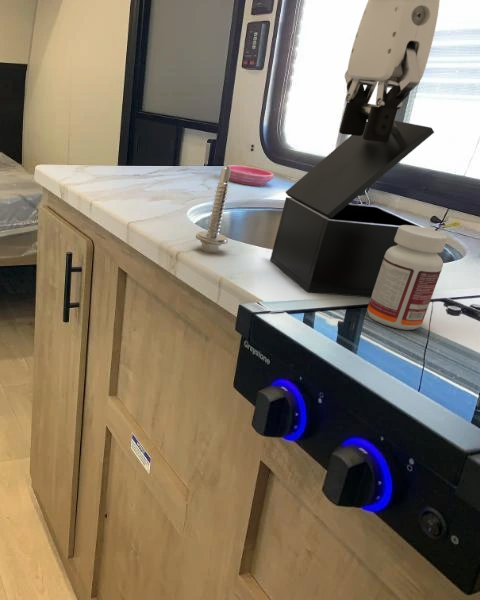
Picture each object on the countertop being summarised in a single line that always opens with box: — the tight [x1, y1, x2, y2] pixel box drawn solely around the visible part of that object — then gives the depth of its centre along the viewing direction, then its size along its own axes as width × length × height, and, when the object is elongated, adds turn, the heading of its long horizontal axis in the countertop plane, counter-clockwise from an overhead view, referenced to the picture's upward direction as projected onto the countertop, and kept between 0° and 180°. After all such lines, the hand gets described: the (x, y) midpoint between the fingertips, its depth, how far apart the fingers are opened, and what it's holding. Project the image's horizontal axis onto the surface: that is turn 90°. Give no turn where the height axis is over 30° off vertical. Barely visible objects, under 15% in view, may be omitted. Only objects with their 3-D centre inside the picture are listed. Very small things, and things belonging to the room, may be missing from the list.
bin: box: [269, 196, 427, 298], centre depth 84 cm, size 15×13×10 cm
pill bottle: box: [366, 225, 449, 331], centre depth 71 cm, size 6×6×11 cm
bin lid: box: [285, 102, 435, 219], centre depth 78 cm, size 15×13×5 cm
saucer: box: [226, 164, 275, 187], centre depth 155 cm, size 12×12×3 cm
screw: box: [195, 165, 231, 254], centre depth 89 cm, size 13×5×5 cm
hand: (362, 136), depth 78 cm, fingers closed on bin lid, 5 cm apart
